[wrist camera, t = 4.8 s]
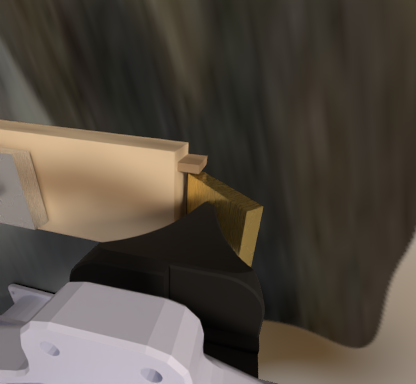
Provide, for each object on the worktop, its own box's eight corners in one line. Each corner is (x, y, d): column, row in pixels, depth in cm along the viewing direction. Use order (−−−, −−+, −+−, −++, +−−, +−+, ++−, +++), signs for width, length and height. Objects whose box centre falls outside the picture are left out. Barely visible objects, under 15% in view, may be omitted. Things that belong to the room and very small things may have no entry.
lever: (198, 225, 15) (249, 273, 11) (185, 229, 14) (234, 281, 11) (202, 171, 13) (263, 206, 10) (188, 173, 13) (246, 211, 9)
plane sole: (200, 238, 16) (191, 261, 14) (8, 201, 19) (-25, 215, 17) (208, 144, 13) (197, 155, 11) (-21, 117, 16) (-67, 120, 14)
